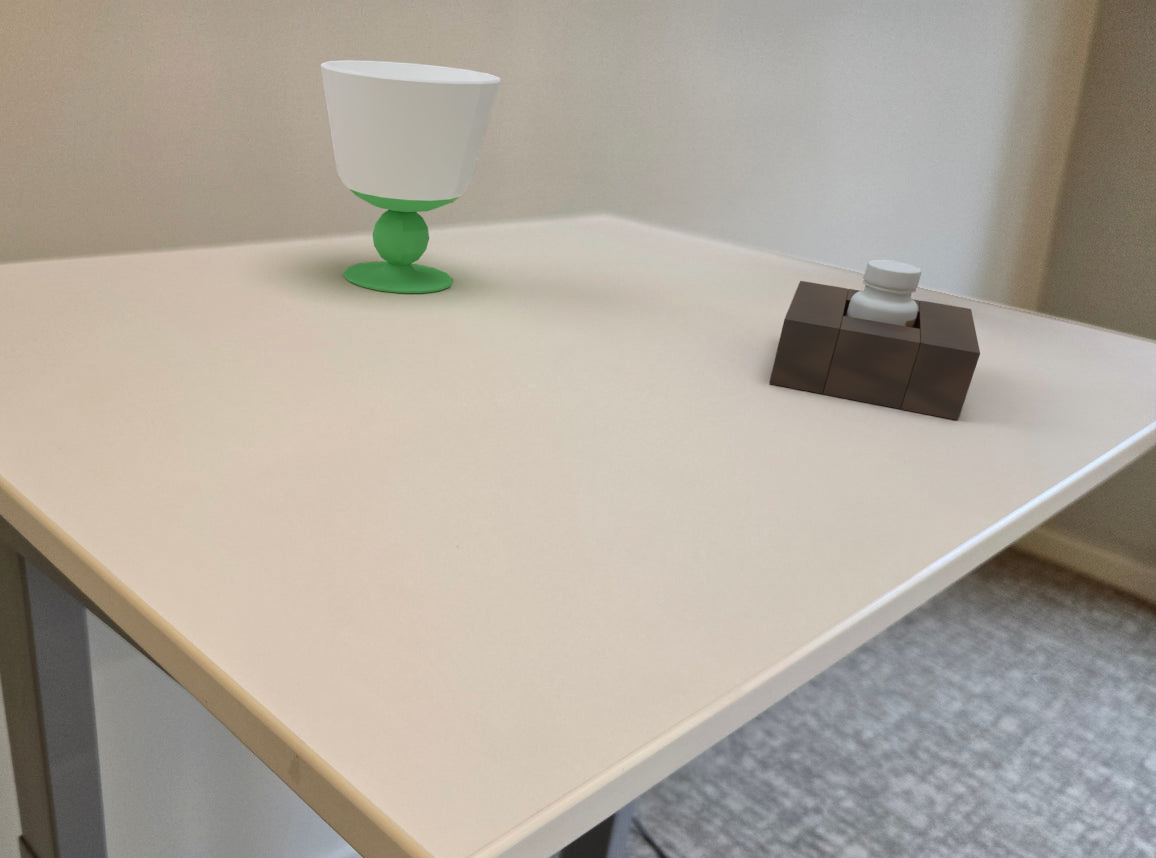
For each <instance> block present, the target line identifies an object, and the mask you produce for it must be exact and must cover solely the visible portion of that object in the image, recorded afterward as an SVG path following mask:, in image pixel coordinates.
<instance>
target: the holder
mask: <svg viewBox="0 0 1156 858" xmlns="http://www.w3.org/2000/svg"><path fill="white" fill-rule="evenodd" d="M859 291H861V290H860V289H853V288H847V287H842V286H841V287H840V286H834V285H828V284H824V283H817V282H810V281H805V280H800V281H799V283H798V285H797V287H796V290H795V292H794V295H793V297H792V299H791V302H790V305H789V307H788V309H787V312H786V314H785V317H784V320H783V324H782V327H781V331H780V332H781V333H780V336H779V340H778V344H777V349H776V352H775V357H774V361H773V365H772V369H771V373H770V378H769V382H768V383H769V385H774V386H779V387H784V388H790V389H795V390H799V391H805V392H810V393H815V394H820V395H822V394H823V395H825V396H831V397H836V398H841V399H847V400H851V401H856V402H860V403H861V402H862V403H867V404H872V405H878V406H883V407H887V408H893V409H899V410H903V411H907V412H912V413H913V412H914V413H919V414H922V415H923V414H924V415H929V416H934V417H940V418H945V419H949V420H955V421H959V420H960V416H961V413H962V410H963V407H964V404H965V401H966V398H967V395H968V392H969V389H970V386H971V383H972V379H973V377H974V374H975V371H976V367H977V365H978V362H979V359H980V356H981V351H980V346H979V341H978V336H977V330H976V326H975V321H974V315H973V311H972V308H969V307H963V306H957V305H950V304H945V303H938V302H932V301H926V300H919V299H914V298H911V299H912V300H914V301H915V302H916V304H917V306H918V312H917V316H916V320H915V323H914V327H913V328H912V327H906V326H900V325H894V324H888V323H882V322H877V321H871V320H865V319H859V318H853V317H848V316H846V314H847V311H848V307H849V304H850V300H851V298H852V296H853V295H854V294H855V293H857V292H859Z"/></svg>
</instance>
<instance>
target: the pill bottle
mask: <svg viewBox="0 0 1156 858" xmlns="http://www.w3.org/2000/svg"><path fill="white" fill-rule="evenodd" d="M864 271H865V272H864V275H863V279H864V280H863V281H862V284H863V285H864V289H863V290H860V291H859V292H857V293H855V294H854V295H853V296H852V298H851V300H850V304H849V307H848V311H847V314H846V316H848V317H853V318H859V319H865V320H871V321H877V322H882V323H888V324H894V325H900V326H906V327H912V328H913V327H914V323H915V320H916V316H917V312H918V306H917V304H916V302H915V301H914V300H915V299H914V300H912V299H913V298H912V294H914V293H916V292H917V288H918V286H919V284H920V279H921V277H922V269H921V268H920V267H918V266H915V265H913V264H910V263H907V262H903V261H897V260H891V259H871V260H869V261H868V262H867V264H866V268H865V270H864Z"/></svg>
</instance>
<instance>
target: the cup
mask: <svg viewBox="0 0 1156 858" xmlns="http://www.w3.org/2000/svg"><path fill="white" fill-rule="evenodd" d="M319 66H320V72H321V80H322V86H323V93H324V98H325V105H326V112H327V117H328V124H329V130H330V136H331V137H330V138H331V142H332V143H331V144H332V149H333V157H334V163H335V169H336V173H337V175H338V176H339V178H340V180H341V182H342V184H343V185H344V186H345V187H346V188H347V189H348V190H349V191H350V192H351V193H353V195H354V196H356V197H357V198H359V199H361V200H362V201H365V202H366V203H367V204H370V205H372V206H373V207H376V208H379V209H384V210H386V211H385V212H383V213H382V214H381V215H380V217H379V218H378V219H377V221H376V222H375V223H374V226H373V231H372V243H373V247H374V248H375V250H376V252H377V253H378V256H380V258H381V259H383V260H384V261H369V262H359V263H356V264H353V265H350V266H348V267H347V268H345V270H344V271H343V274H342V275H343V276H344V277H345V279H346V280H347V281H348V282H349V283H351V284H353V285H356V286H358V287H361V288H365V289H370V290H374V291H379V292H387V293H395V294H427V293H435V292H440V291H443V290H446V289H449V288H450V287H451V286H452V285H453V282H454V279H453V277H451V276H450V274H448V273H447V272H446V271H443V270H440V269H438V268H436V267H432V266H427V265H424V264H423V265H422V264H418V263H415V262H417V261H420V258H421V257H422V256H423V255H424V253H425V252H426V250H427V248H428V244H429V240H430V234H429V233H430V232H429V226H428V225H427V223H426V221H425V219H424V217H423V216H422V215H420V213H421V212H423V213H424V212H430V211H433V210H437V209H439V208H442V207H444V206H447V205H449V204H451V203H452V204H453V202H455V201H456V200H458V199H460V198H461V197H462V196H463V195H464V194H465V192H466V191H467V190H468V187H470V185H471V184H472V182H473V178H474V175H475V172H476V168H477V164H478V161H479V157H480V154H481V151H482V148H483V147H482V146H483V144H484V139H485V136H486V133H487V129H488V126H489V122H490V119H491V115H492V111H493V108H494V106H495V102H496V98H497V95H498V92H499V87H500V85H501V81H502V79H501V77H500V76H496V75H493V74H491V73H487V72H483V71H482V72H481V71H476V70H473V69H465V68H458V67H449V66H441V65H434V64H433V65H432V64H423V63H411V62H400V61H399V62H398V61H382V60H357V59H355V60H354V59H344V60H343V59H342V60H341V59H340V60H327V61H325V62H322V63H321V64H320V65H319Z"/></svg>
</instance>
